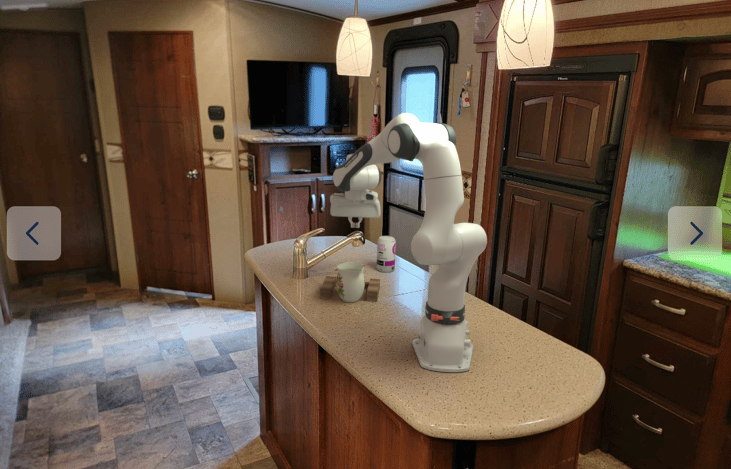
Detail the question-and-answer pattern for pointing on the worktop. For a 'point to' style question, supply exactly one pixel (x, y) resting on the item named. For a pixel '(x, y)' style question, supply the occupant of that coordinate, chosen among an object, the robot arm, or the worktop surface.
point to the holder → (371, 288)
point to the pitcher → (350, 281)
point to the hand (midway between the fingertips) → (355, 227)
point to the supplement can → (386, 253)
